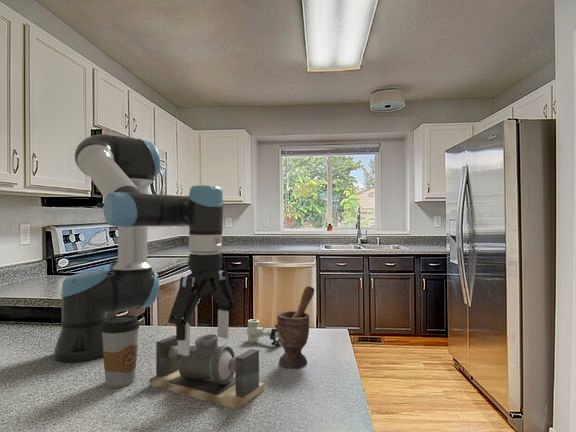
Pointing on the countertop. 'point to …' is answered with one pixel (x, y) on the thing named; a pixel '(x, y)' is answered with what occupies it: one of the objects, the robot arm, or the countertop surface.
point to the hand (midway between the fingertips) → (204, 345)
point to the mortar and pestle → (294, 332)
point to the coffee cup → (120, 349)
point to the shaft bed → (205, 389)
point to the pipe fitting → (207, 361)
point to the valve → (261, 332)
